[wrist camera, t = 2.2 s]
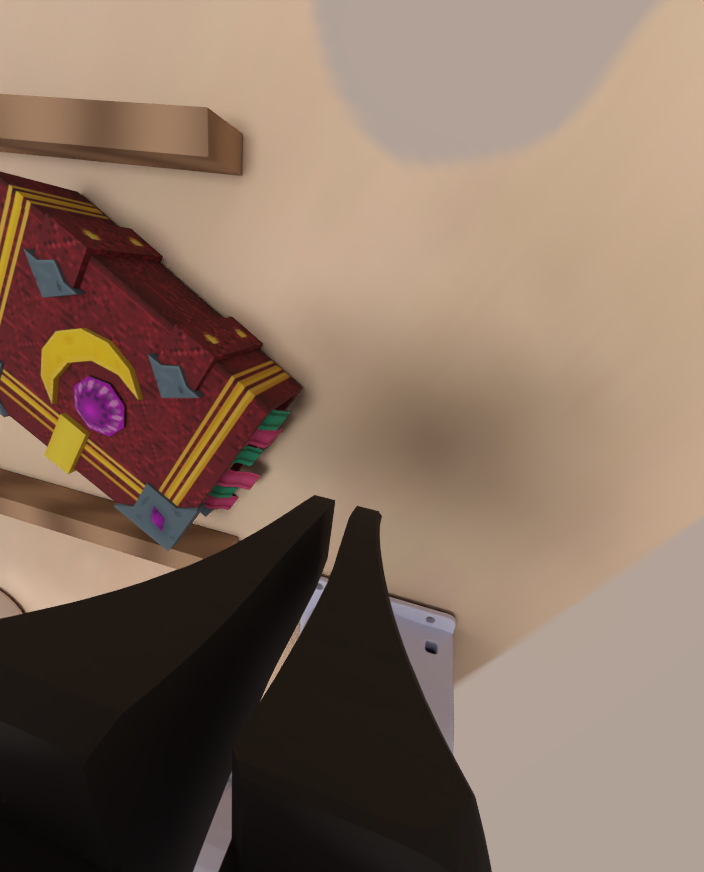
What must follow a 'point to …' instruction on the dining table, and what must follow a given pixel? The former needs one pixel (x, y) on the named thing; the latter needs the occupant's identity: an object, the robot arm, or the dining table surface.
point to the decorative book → (126, 364)
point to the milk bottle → (8, 607)
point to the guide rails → (128, 144)
